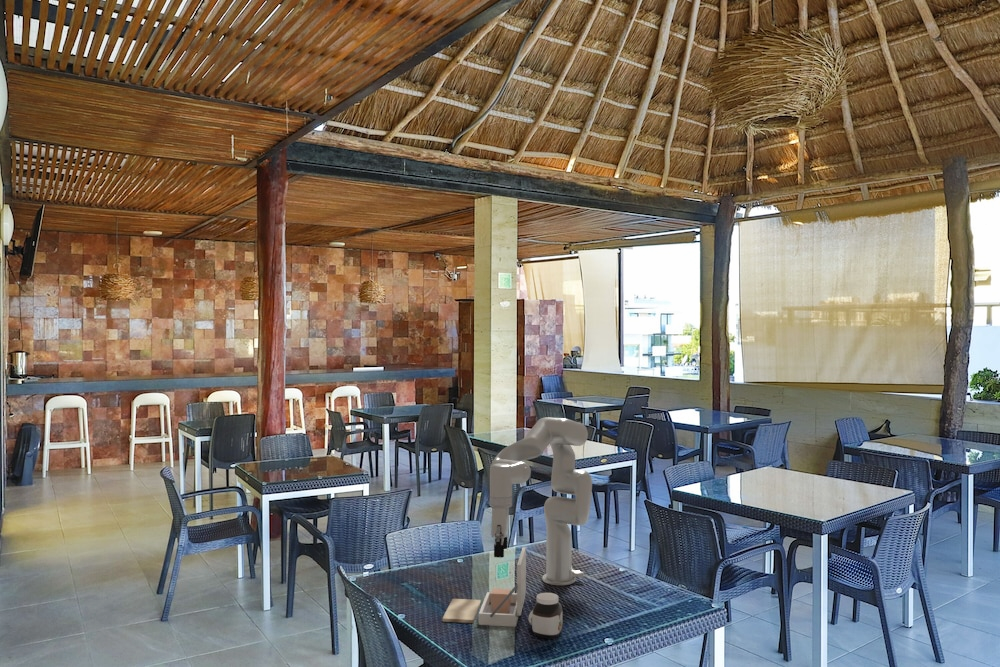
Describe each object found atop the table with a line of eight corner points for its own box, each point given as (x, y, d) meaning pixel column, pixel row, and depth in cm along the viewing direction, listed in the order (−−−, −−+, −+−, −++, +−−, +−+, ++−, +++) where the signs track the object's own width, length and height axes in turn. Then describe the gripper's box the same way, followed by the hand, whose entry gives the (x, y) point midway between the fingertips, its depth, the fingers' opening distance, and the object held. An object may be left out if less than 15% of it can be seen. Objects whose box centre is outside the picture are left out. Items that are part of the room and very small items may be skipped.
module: (510, 610, 237) (510, 589, 237) (509, 615, 232) (509, 594, 232) (492, 609, 238) (493, 588, 238) (491, 614, 233) (491, 593, 233)
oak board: (481, 602, 245) (481, 599, 245) (472, 623, 227) (472, 619, 227) (452, 601, 246) (452, 598, 246) (442, 621, 228) (442, 618, 228)
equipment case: (525, 603, 244) (525, 547, 244) (520, 627, 223) (520, 565, 223) (487, 602, 245) (487, 545, 246) (478, 625, 225) (478, 564, 225)
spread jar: (550, 642, 212) (550, 603, 212) (518, 634, 218) (518, 596, 218) (568, 629, 222) (568, 592, 222) (537, 621, 228) (537, 585, 228)
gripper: (493, 495, 245) (492, 545, 244) (486, 506, 227) (485, 560, 227) (514, 496, 244) (514, 546, 243) (509, 507, 226) (509, 561, 226)
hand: (500, 552), depth 235 cm, fingers open, 9 cm apart
